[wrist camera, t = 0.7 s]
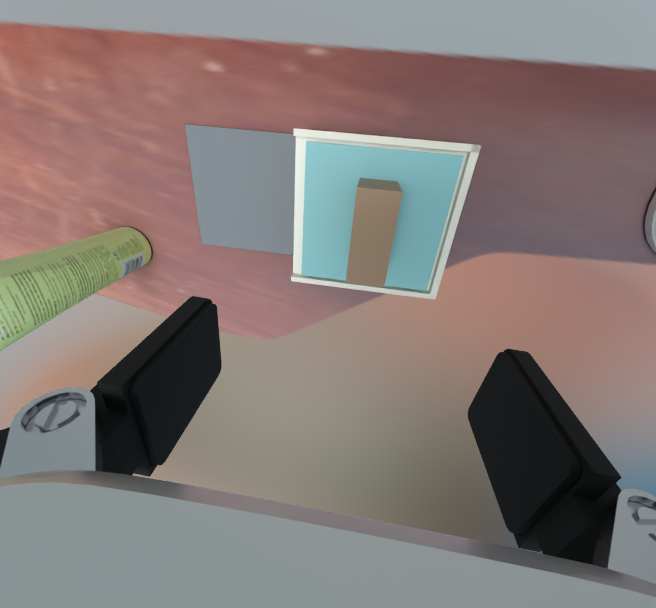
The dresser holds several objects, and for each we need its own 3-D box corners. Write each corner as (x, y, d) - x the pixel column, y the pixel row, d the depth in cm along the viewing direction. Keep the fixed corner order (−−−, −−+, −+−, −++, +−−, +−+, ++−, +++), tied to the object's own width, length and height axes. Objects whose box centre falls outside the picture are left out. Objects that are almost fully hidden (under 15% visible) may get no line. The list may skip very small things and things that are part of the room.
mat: (297, 134, 28) (296, 134, 28) (294, 254, 34) (293, 255, 34) (186, 124, 29) (184, 124, 29) (203, 243, 35) (201, 243, 35)
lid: (461, 155, 23) (485, 161, 18) (425, 287, 29) (436, 319, 24) (307, 141, 24) (290, 143, 19) (303, 271, 29) (288, 299, 24)
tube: (102, 236, 36) (-132, 324, 20) (124, 212, 34) (-116, 286, 18) (139, 272, 38) (-46, 380, 21) (162, 251, 36) (-22, 352, 19)
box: (461, 143, 27) (481, 145, 22) (425, 274, 33) (435, 299, 28) (308, 129, 28) (293, 128, 23) (303, 259, 34) (291, 280, 29)
